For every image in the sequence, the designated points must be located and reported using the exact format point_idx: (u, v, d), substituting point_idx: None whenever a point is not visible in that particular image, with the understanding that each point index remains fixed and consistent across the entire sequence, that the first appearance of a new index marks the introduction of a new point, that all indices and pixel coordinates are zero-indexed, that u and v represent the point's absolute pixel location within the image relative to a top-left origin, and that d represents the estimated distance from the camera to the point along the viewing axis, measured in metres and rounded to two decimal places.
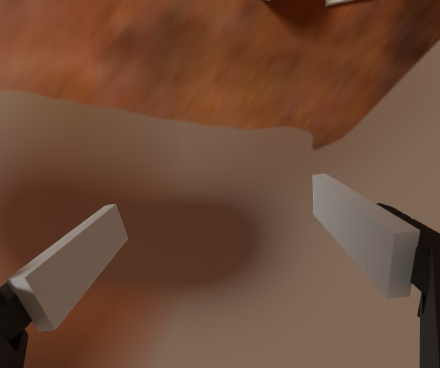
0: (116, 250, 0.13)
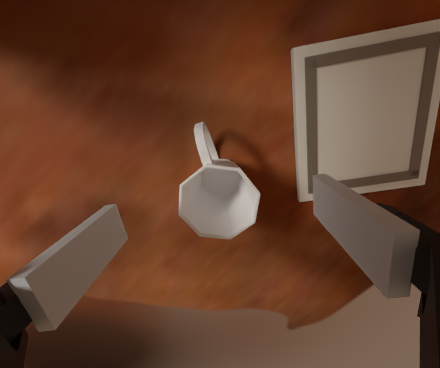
0: (116, 250, 0.13)
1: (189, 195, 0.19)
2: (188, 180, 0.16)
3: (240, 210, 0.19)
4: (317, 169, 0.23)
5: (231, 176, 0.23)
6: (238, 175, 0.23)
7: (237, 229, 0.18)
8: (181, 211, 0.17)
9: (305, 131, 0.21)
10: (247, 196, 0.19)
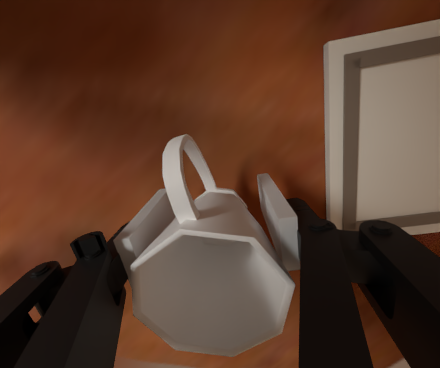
0: None
1: (159, 267, 0.10)
2: (146, 258, 0.08)
3: (251, 289, 0.11)
4: (355, 202, 0.17)
5: None
6: None
7: (246, 339, 0.09)
8: (138, 308, 0.09)
9: (341, 153, 0.16)
10: (263, 267, 0.11)
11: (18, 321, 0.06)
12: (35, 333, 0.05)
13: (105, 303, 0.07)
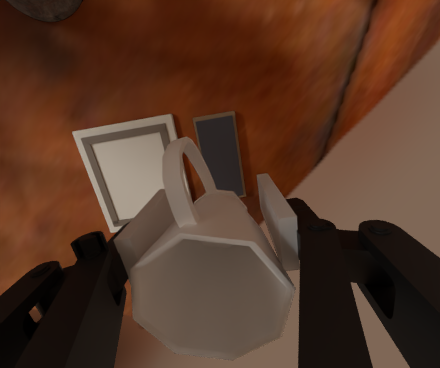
0: None
1: (159, 270, 0.10)
2: (146, 262, 0.08)
3: (251, 292, 0.11)
4: (114, 210, 0.31)
5: None
6: None
7: (246, 343, 0.09)
8: (138, 312, 0.09)
9: (97, 184, 0.30)
10: (264, 270, 0.11)
11: (18, 321, 0.06)
12: (36, 333, 0.05)
13: (105, 303, 0.07)
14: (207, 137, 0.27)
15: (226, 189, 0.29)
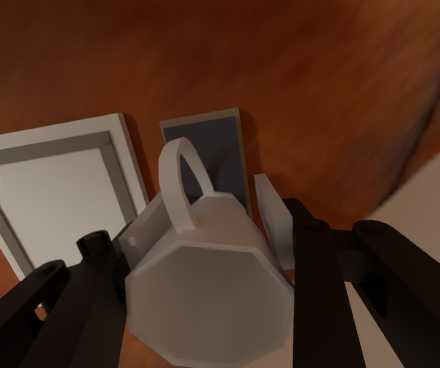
0: None
1: (156, 277, 0.10)
2: (142, 271, 0.07)
3: (252, 298, 0.11)
4: None
5: None
6: None
7: (248, 352, 0.09)
8: (134, 323, 0.08)
9: (1, 235, 0.17)
10: (265, 276, 0.10)
11: (24, 319, 0.06)
12: (41, 330, 0.05)
13: (110, 301, 0.07)
14: None
15: None
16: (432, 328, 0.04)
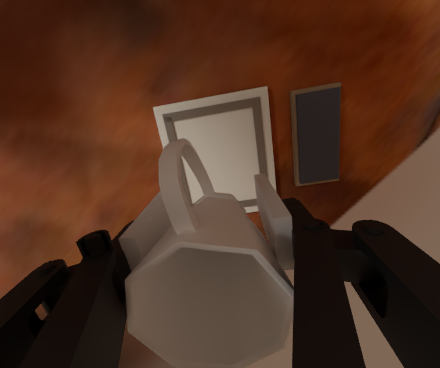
0: None
1: (156, 278, 0.10)
2: (142, 272, 0.07)
3: (252, 299, 0.11)
4: (189, 196, 0.29)
5: None
6: None
7: (248, 354, 0.09)
8: (133, 324, 0.08)
9: None
10: (265, 277, 0.10)
11: (24, 319, 0.06)
12: (42, 330, 0.05)
13: (110, 301, 0.07)
14: (308, 112, 0.24)
15: (320, 172, 0.26)
16: (431, 328, 0.04)
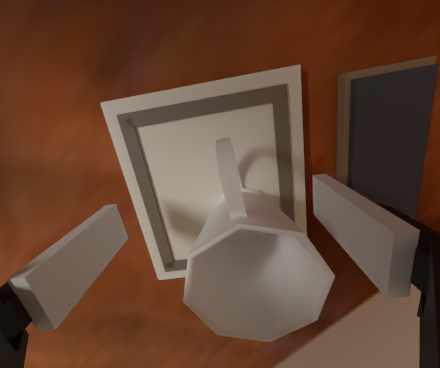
0: (116, 250, 0.13)
1: (201, 259, 0.11)
2: (204, 249, 0.09)
3: (282, 281, 0.12)
4: (168, 244, 0.18)
5: None
6: None
7: (283, 326, 0.10)
8: (188, 296, 0.10)
9: (142, 201, 0.17)
10: (295, 262, 0.12)
11: None
12: None
13: None
14: (373, 111, 0.13)
15: None
16: None
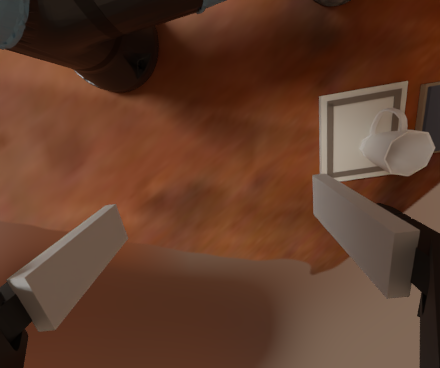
0: (116, 250, 0.13)
1: None
2: (397, 138, 0.29)
3: (405, 162, 0.32)
4: (332, 163, 0.38)
5: None
6: None
7: (413, 170, 0.30)
8: (385, 157, 0.30)
9: (326, 141, 0.37)
10: (412, 153, 0.32)
11: None
12: None
13: None
14: (437, 99, 0.34)
15: (437, 144, 0.36)
16: None
